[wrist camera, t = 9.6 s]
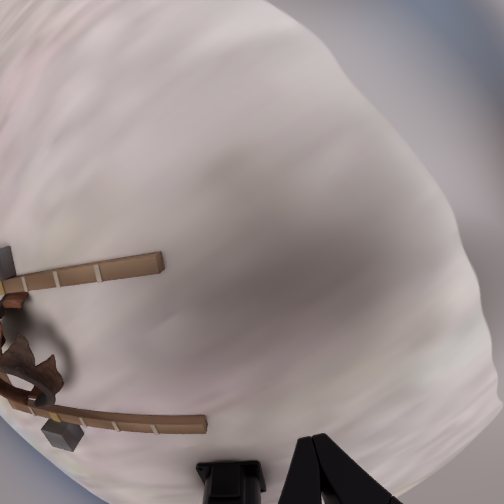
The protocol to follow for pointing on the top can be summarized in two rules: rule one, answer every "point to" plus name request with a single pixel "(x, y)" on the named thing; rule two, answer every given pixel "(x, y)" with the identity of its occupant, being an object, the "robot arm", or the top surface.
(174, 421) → the wooden u-shaped frame
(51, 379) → the brown broken pot
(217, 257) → the top surface
